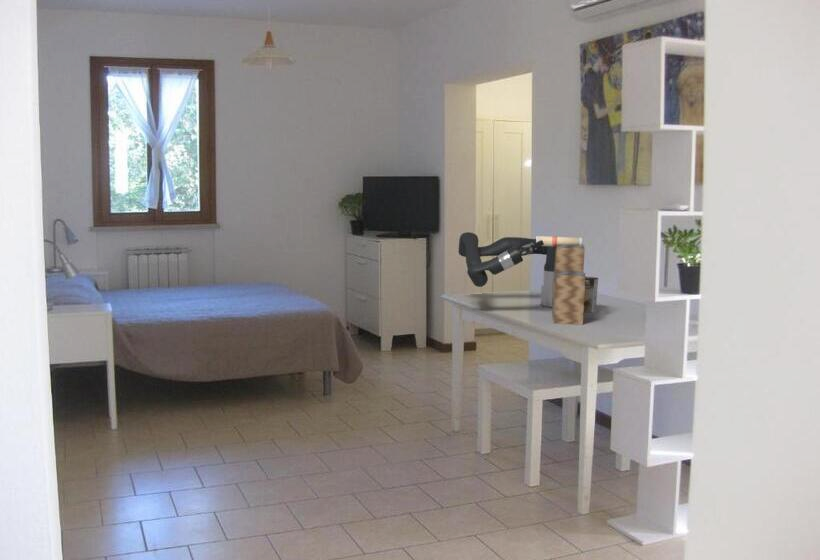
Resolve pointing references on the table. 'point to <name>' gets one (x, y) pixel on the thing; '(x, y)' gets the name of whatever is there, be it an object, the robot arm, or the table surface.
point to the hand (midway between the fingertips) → (542, 241)
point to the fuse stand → (568, 284)
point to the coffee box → (590, 294)
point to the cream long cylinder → (559, 240)
